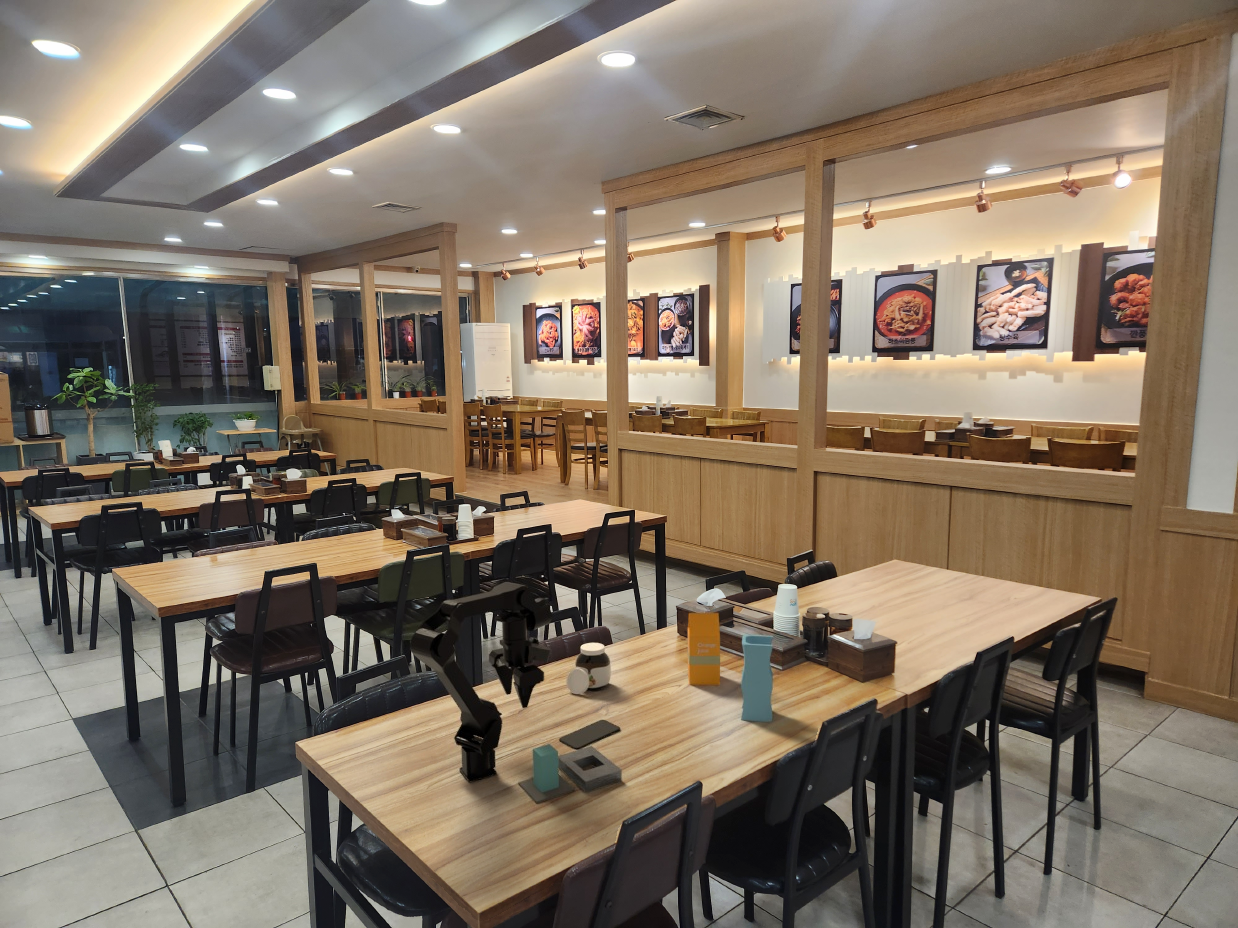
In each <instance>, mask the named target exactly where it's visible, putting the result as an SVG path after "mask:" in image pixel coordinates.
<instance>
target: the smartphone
mask: <svg viewBox="0 0 1238 928" xmlns="http://www.w3.org/2000/svg"><path fill="white" fill-rule="evenodd" d="M620 731H621V727H620V726H619V725H616V724H614V723H612V722H610V721H608V720H606V719H600V720H596V721H595V722H593V723H590V724H588V725H586V726H584V727H582V728H580V729H577V730H575V731H572V732H570V733H567V734H566V735H564V736H561V737H560V738H559V739H558V741H559V743H561V744H564V745H566V746H567V747H569V748H571V749H573V750H575V751H576V750H580V749H583V748H586V747H588V746H590V745H593V744H594V743H596V742H598V741H601V740H602V739H605V738H608V737H610V736H612V735H614V734H616V733H619V732H620Z"/></svg>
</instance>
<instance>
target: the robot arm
mask: <svg viewBox="0 0 1238 928" xmlns="http://www.w3.org/2000/svg"><path fill="white" fill-rule="evenodd" d="M500 610H501V611H500ZM495 611H500V612H499V614H497V615H496V617H495V618H494V621H495V622H499V623H501V624H502V625H501V629H502V633H501V634H502V638H501V639H499V645H500V646H501V648H498V649H497V648H495V649H492V650H491V651H490V653H489V654H488V663H490V664H491V667H492V669H493V671H494V673H495V675H496V676H497V678H498V680H499V683H500V684H501V686H502V689H503V690H504V692H505V694H506V695H507V696H508V695H511V694H512V688H513V687H514V689H515V692H516V694H517V697H518V700H519V702H520V705H521V708H522V709H526V708H528V706H529V703H530V701H531V700H530V699H531V697H532V693H533V690H534V688H535V687H536V686H537V685H539V684H541V683H542V682H544V681H545V671H543V670H542V669H541V668H539V667H538V666H536V664H533V663H534V661H538V662H542V663H545V664H547V663H548V662H549V660H550V659H549V658H550V655H551V652H552V649H551V648H549V647H547V646H546V645H544V644H542V643H540V641H539V639H538V638H536V637H529V639H528V632H533V631H535V630H537V629H540V628H542V627H545V626H547V625H549V624H550V623H551V622H552V619H553V612H552V610H551V607H550V606H549V605H548V604H547V603H546V599H545V598H543V597H538V598H534V597H533V595H532V593H531V590H530V588H529V587H528V585H524V584H521V583H520V584H519V583H516V582H515V583H514V582H510V581H505V582H502V583H500V584H497V585H495V586H494V587H493V589H492V590H490V591H486V592H482V593H478V594H473V595H470V596H468V595H467V596H463V597H460V598H455V599H446V600H444V601H442V602H441V603H440V605H439V606H438V608H437V610H436V611H434V612H433V613H431V614H430V615H429V616H428V617H426V618H425V619H424V620H423V621H422V622H421V624H420V625H419V626H418V628H417V630H416V631H415V632H414V634H413V635H412V637H411V639H410V644H409V645H408V646H409V650H410V652H411V653H412V655H414V656H415V657H416V658H417V659H418V660H419V661H420V662H421V663H423V664H424V665H426V666H428V667H429V668H430V669H432V670H433V671H434V673H435V674H436V676H437V677H438V679H439V680H440V682H441V683H442V685H443V686H444V688H445V689H446V691H447V693H448V694H449V695H450V697H451V698H452V699H453V701H454V703H455V704H456V706H457V707H458V709H459V710H460V712H461V713H460V718H459V719H460V723H461V724H460V726H459V728H458V730H457V731H456V733H455V735H454V737H453V739H454V742H455V744H456V746H460V747H461V766H460V767H459V771H460V773H461V774H462V775H463V777H464V778H465V779H466V780H467V781H468V782H469V783H472V782H476V781H478V780H481V779H486V778H489V777H491V776H496V775H497V770H496V769H495V768H496V750H495V749H497V748H499V743H500V737H501V733H502V730H503V729H502V728H503V719H502V715H503V713H501V712H500V711H499V709H498V707H497V705H496V703H495V702H494V701H493V702H492V701H491V700H488V699H484V698H481V697H479V695H478V693H477V692H476V690H475V689H474V687H473V686H472V684H471V682H470V681H469V680H468V678H467V676H466V675H465V673H464V672H463V670H462V668H461V667H460V666H459V664H458V662H457V661H456V648H455V647H456V646H455V645H456V643H457V642H458V640H459V638H460V635H461V629H462V628H461V627H462V623H463V622H464V621H465V619H468V618H472V617H477V616H481V615H484V614H488V613H491V612H495ZM448 620H449V621H448ZM447 621H448V628H447V630H446V631H445V632H441V631H437V629H438V628H440V627H441V626H442V625H443V624H445V623H446V622H447ZM527 664H528V665H527ZM530 664H531V665H530Z"/></svg>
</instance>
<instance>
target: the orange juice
mask: <svg viewBox="0 0 1238 928" xmlns="http://www.w3.org/2000/svg"><path fill="white" fill-rule="evenodd" d="M719 615H720V613H719V612H688V620H687V621H688V622H687V678H688V683H689V686H702V685H703V686H713V685H714V686H715V685H716V686H721V634H720V633H721V630H720V629H721V628H720V617H719Z"/></svg>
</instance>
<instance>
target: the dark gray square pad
mask: <svg viewBox="0 0 1238 928" xmlns="http://www.w3.org/2000/svg"><path fill="white" fill-rule="evenodd" d="M517 784H518V786H519V787H520V788H521V789H522V790H523V791H524V792H525V793H526V794H527V796H529V798H531V799H532V801H534V802H535V804H540V803H543V802H545V801H548V800H553V799H554V798H557V797H561V796H563V795H566V794H570V793H572V792H575V791H576V789H575V787H573V786H572V784H570V783H569V782H568V781H567V780H566V779H565V778H564V777H563V776H562V775H560V774H559V787H558V788H555V789H552V790H548V791H545V792H541V791H540V790H539V789H538V788H537V787H536V786H535V785H534V778H533V777H532V778H529V779H525V780H521V781H519V782H518V783H517Z"/></svg>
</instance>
